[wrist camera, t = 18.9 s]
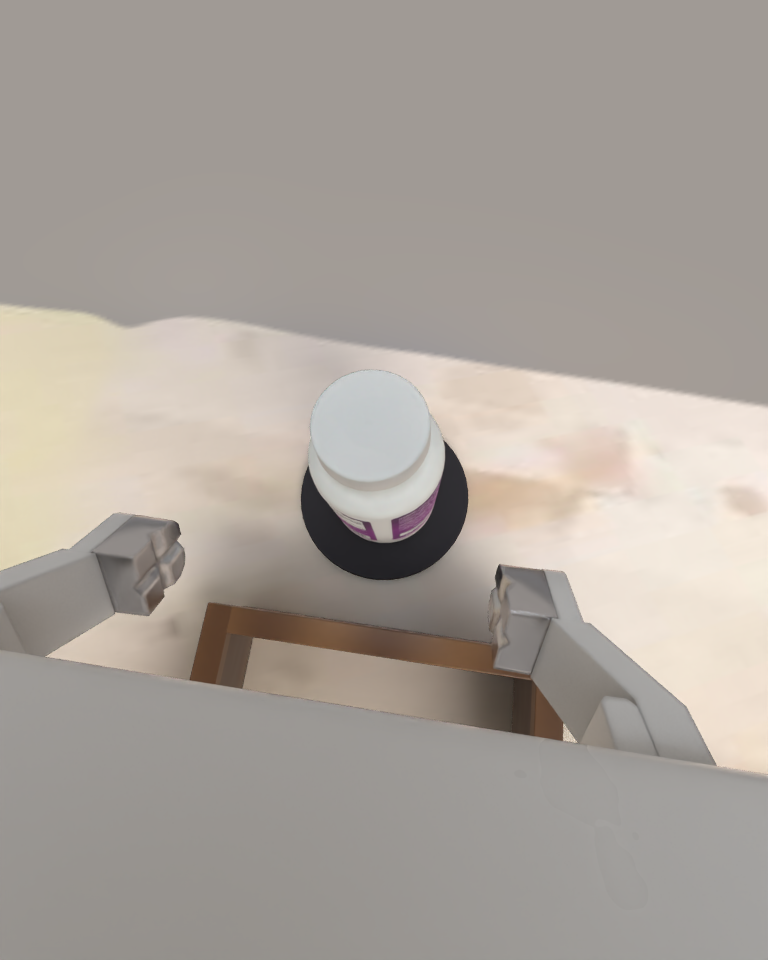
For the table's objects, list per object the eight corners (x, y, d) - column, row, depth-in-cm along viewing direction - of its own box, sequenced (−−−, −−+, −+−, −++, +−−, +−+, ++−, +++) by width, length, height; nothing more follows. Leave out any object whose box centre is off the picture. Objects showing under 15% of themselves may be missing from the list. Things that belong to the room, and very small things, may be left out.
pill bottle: (424, 440, 24) (437, 337, 15) (443, 535, 22) (471, 486, 13) (328, 456, 24) (280, 363, 15) (341, 552, 22) (296, 515, 13)
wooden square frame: (162, 964, 18) (96, 1062, 14) (242, 602, 22) (207, 602, 18) (518, 1043, 17) (552, 1173, 13) (535, 646, 21) (565, 656, 17)
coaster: (301, 583, 22) (299, 582, 22) (303, 423, 25) (302, 420, 25) (474, 576, 22) (476, 576, 22) (460, 415, 25) (460, 412, 24)
